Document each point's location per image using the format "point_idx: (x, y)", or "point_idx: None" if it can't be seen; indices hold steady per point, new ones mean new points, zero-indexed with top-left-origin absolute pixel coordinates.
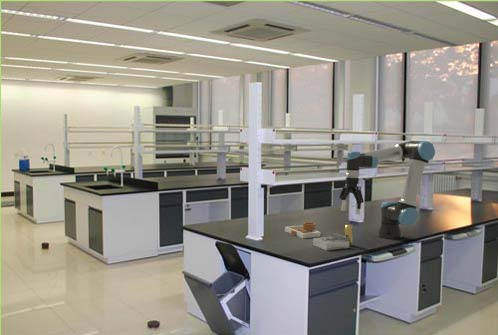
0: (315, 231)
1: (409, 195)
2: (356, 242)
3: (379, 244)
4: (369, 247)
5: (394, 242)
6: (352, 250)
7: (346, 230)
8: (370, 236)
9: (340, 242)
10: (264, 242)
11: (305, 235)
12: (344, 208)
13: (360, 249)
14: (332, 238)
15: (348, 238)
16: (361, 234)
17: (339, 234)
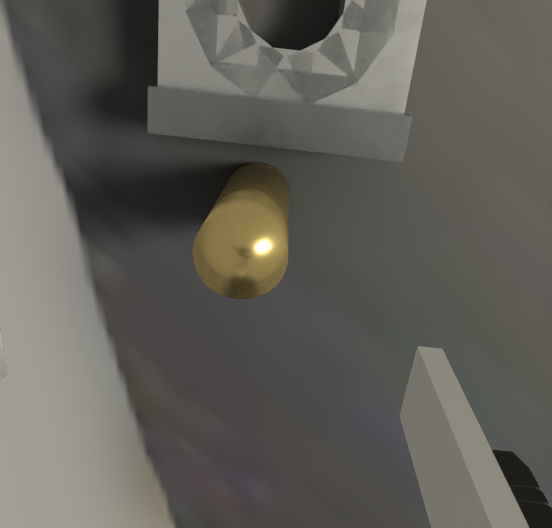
0: None
1: None
2: (292, 311)
3: (166, 404)
4: (120, 283)
5: (171, 514)
6: (85, 84)
7: (238, 194)
8: (379, 512)
9: (160, 13)
10: None
11: None
12: (415, 423)
13: (91, 174)
14: (329, 51)
15: (150, 124)
16: None
17: (320, 152)
